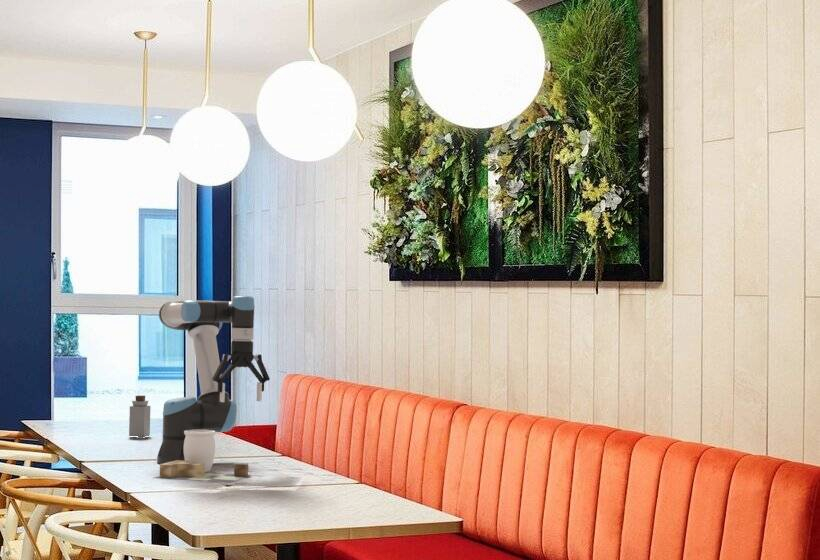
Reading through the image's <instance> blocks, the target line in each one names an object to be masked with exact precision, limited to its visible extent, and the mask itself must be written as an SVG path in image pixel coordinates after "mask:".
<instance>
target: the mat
mask: <svg viewBox="0 0 820 560" xmlns="http://www.w3.org/2000/svg"><path fill="white" fill-rule="evenodd" d="M252 476H253V475H252V474H248V476H247V477H234V473H223V472H221V473H219V472H208V471H206V472H205V473H204V476H201V477H186V476H175V477H171V478H170V477H160V475H158V476H154V477H153V479H161V480H176V481H177V480H178V481H179V480H180V481H194V482H208V483H209V482H210V483H223V484H224V483H227V484H226V485H224V487H230V488H231V487H232V486H234V485H233V484H230V483H233V482H236V481H239V480H242V479H246V478H249V477H252Z"/></svg>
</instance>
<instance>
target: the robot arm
mask: <svg viewBox="0 0 820 560" xmlns="http://www.w3.org/2000/svg"><path fill="white" fill-rule="evenodd" d="M158 318H159V321H160V323H161V324H162V325H164V326H165V327H166V328H168V329H171V330H174V331H175V330H177V331H187V333H188V337H189V338H190V339H192V340H193V347H194V355H195V361H196V367H197V374H198V381H199V382H198V383H199V388H200V395H199V396H198V398H196V396H195V397H194V396H187V397H186V396H185V397H177V398H171V399H168V400H166V401H164V404H163V409H162V441H161V445H160V446H159V447H160V448H159V449H158V450H159V451H158V453H157V457H156V462H157V464H159V465H160V464H164V463H168V462H172V461H176V460H185V458H184V440H185V437H186V435H185V434H184V431H186V430H195V429H205V430H214V431H215V433H222V432H224V433H225V432H230V431H232V429H233V428H234V426H235V423H236V419H237V411H238V410H237V408H238V407H237V403H236V401H235V400H234V399H230V394H229V393H228V392H227V391H225V390H226V383H225V382H224V381H225V380H226V379H227V378H228V377H229V375H231V373H232V371H234V369H236V368H248V369H249V370H250V371H251V373H252V374H253V375H254V377H255V378H256V379H257V380H258V381H257V382H256V399H255V400H256V402H262V397H263V396H262V395H263V394H262V392H264V391H265V383H266V382H269V381H270V379H271V378H270V376H269V374H268V372H267V369H266V367H265V364H264V363H263V360H262V359H263V357H262V354H261V353H260V354H259V353H256V354H254V341H253V339H254V325H255V324H254V322H255V298H254V296H246V295H245V296H244V295H242V296H241V295H234V296H233V297H232V300H228V301H227V300H224V301H223V300H207V299H203V300H195V299H194V300H193V299H192V300H191V299H174V300H169V301H167V302H165V303H163V305H161V307H160V308H159V311H158ZM224 323H231V339H232V340H231V346H230V350H231V351H230V354H227V353H226V354H224V353H223V354H222V356H221V361H220V356H219V355H220V354H219V349H218V341H217V335H218V334H219V332H220V330H221V329H222V327H223V324H224ZM229 360H230V361H231V362H230V363H229V365H228V366H227V367H226V365H227V364H228V362H229ZM253 360H254V361H256V365H257V367H258V369H259V370H260V372H259V370H258V369H257V368H256V366H255V365H254V363H253ZM225 367H226V369H225Z"/></svg>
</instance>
